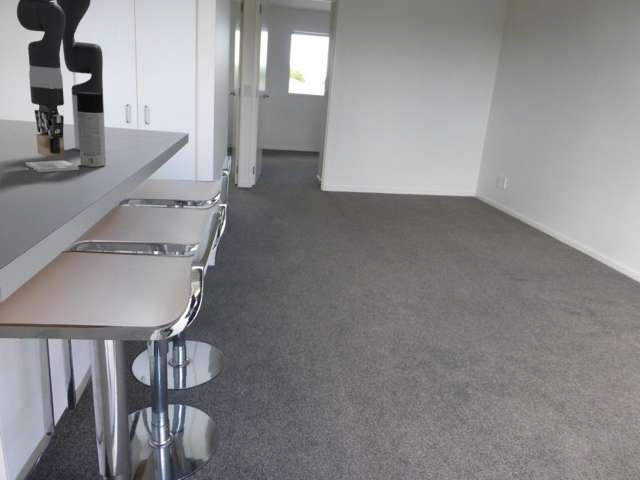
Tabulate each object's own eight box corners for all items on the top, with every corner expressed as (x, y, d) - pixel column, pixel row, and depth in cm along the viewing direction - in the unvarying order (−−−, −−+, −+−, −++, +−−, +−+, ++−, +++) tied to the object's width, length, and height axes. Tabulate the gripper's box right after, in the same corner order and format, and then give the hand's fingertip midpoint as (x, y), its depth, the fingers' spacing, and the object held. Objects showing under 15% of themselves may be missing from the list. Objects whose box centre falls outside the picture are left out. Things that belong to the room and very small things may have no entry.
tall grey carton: (111, 165, 145) (108, 93, 139) (94, 168, 139) (90, 93, 133) (92, 162, 147) (89, 91, 141) (74, 165, 141) (70, 91, 135)
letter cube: (57, 152, 138) (56, 133, 136) (64, 155, 134) (63, 135, 133) (37, 153, 134) (36, 133, 133) (44, 156, 131) (43, 136, 129)
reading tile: (25, 165, 135) (25, 161, 135) (64, 163, 142) (64, 160, 142) (38, 172, 129) (38, 168, 129) (78, 169, 136) (78, 166, 136)
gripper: (21, 82, 131) (26, 148, 136) (40, 86, 122) (46, 156, 127) (51, 84, 136) (56, 147, 141) (73, 88, 127) (76, 155, 132)
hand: (51, 151), depth 134 cm, fingers closed on letter cube, 5 cm apart
